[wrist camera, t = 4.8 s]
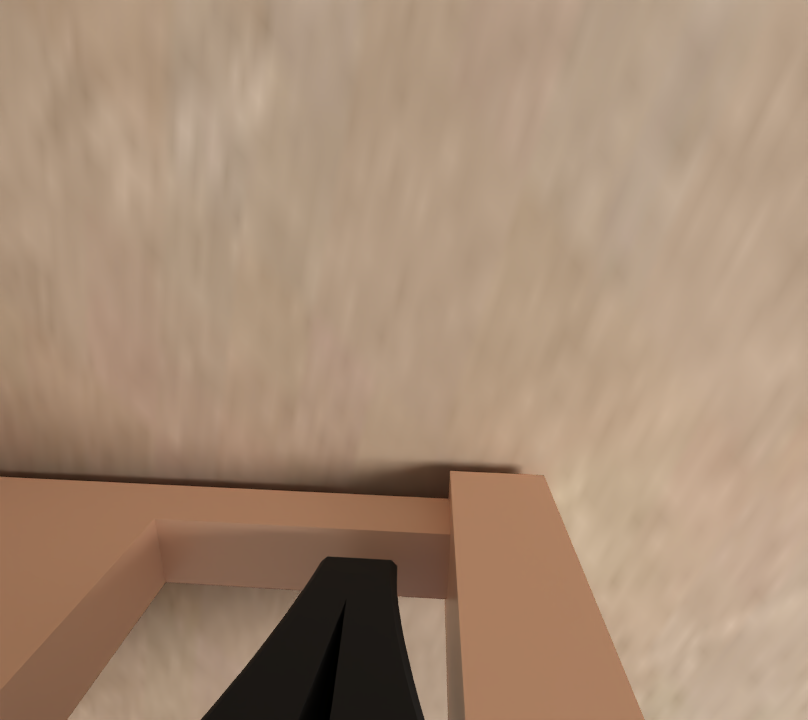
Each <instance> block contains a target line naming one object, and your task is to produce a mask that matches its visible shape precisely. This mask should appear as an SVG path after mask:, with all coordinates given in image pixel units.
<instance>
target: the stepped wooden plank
mask: <svg viewBox="0 0 808 720" xmlns="http://www.w3.org/2000/svg"><path fill="white" fill-rule="evenodd" d="M327 556H330V557H348V558H366V559H383V560H392V561H393V562H394V563H395V564H396V565H397V596H402V597H419V598H436V599H445V628H446V664H447V700H448V720H644V717H643V715H642V712H641V710H640V708H639V705H638V703H637V700H636V698H635V695H634V693H633V691H632V688H631V686H630V683H629V681H628V678H627V676H626V674H625V671H624V669H623V666H622V664H621V661H620V659H619V657H618V654H617V652H616V649H615V647H614V644H613V642H612V640H611V637H610V635H609V632H608V630H607V627H606V625H605V623H604V620H603V618H602V615H601V613H600V610H599V608H598V606H597V603H596V601H595V598H594V596H593V594H592V591H591V589H590V586H589V584H588V581H587V579H586V577H585V574H584V572H583V569H582V567H581V564H580V562H579V560H578V557H577V555H576V552H575V550H574V547H573V545H572V543H571V540H570V538H569V535H568V533H567V530H566V528H565V526H564V523H563V521H562V518H561V516H560V513H559V511H558V509H557V506H556V504H555V501H554V499H553V496H552V494H551V492H550V489H549V487H548V484H547V482H546V480H545V477H544V475H528V474H506V473H484V472H462V471H450V482H449V499H443V498H422V497H402V496H381V495H361V494H341V493H320V492H300V491H279V490H259V489H239V488H218V487H198V486H177V485H157V484H137V483H116V482H96V481H75V480H55V479H34V478H14V477H0V720H67V719H68V718H69V716H70V715H71V713H72V712H73V711H74V709H75V708H76V706H77V705H78V704H79V702H80V701H81V699H82V698H83V697H84V695H85V694H86V692H87V691H88V690H89V688H90V687H91V686H92V684H93V683H94V681H95V680H96V679H97V677H98V676H99V674H100V673H101V672H102V670H103V669H104V667H105V666H106V665H107V663H108V662H109V660H110V659H111V658H112V656H113V655H114V653H115V652H116V651H117V649H118V648H119V647H120V645H121V644H122V642H123V641H124V640H125V638H126V637H127V635H128V634H129V633H130V631H131V630H132V628H133V627H134V626H135V624H136V623H137V621H138V620H139V619H140V617H141V616H142V614H143V613H144V612H145V610H146V609H147V608H148V606H149V605H150V603H151V602H152V601H153V599H154V598H155V596H156V595H157V594H158V592H159V591H160V589H161V588H162V587H163V585H164V584H165V582H170V583H186V584H203V585H219V586H236V587H253V588H269V589H286V590H303V589H304V587H305V586H306V584H307V583H308V581H309V580H310V578H311V577H312V575H313V574H314V572H315V571H316V569H317V567H318V566H319V564H320V563H321V561H322V560H323V559H325V558H326V557H327Z"/></svg>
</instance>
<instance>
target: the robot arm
mask: <svg viewBox="0 0 808 720" xmlns="http://www.w3.org/2000/svg"><path fill="white" fill-rule="evenodd" d="M201 720H425V719H424V716H423V713H422V709H421V706H420V702H419V699H418V695H417V691H416V687H415V684H414V680H413V676H412V671H411V667H410V663H409V659H408V654H407V650H406V646H405V641H404V636H403V631H402V626H401V619H400V613H399V606H398V597H397V565H396V564H395V563H394V562H393V561H392V560H383V559H366V558H348V557H330V556H327V557H326V558H325V559H323V560H322V561H321V563H320V564H319V566H318V567H317V569H316V571H315V572H314V574H313V575H312V577H311V578H310V580H309V581H308V583H307V584H306V586H305V587H304V589H303V590H302V592H301V593H300V595H299V596H298V598H297V599H296V600H295V602H294V603H293V605H292V606H291V607H290V609H289V610H288V612H287V613H286V614H285V616H284V617H283V619H282V620H281V621H280V623H279V624H278V625H277V627H276V628H275V629H274V630H273V632H272V633H271V634H270V636H269V637H268V638H267V640H266V641H265V642H264V644H263V645H262V646H261V648H260V649H259V650H258V652H257V653H256V654H255V655H254V657H253V658H252V659H251V660H250V662H249V663H248V664H247V665H246V667H245V668H244V669H243V670H242V672H241V673H240V674H239V675H238V676H237V678H236V679H235V680H234V681H233V682H232V683H231V685H230V686H229V687H228V688H227V689H226V691H225V692H224V693H223V694H222V695H221V697H220V698H219V699H218V700H217V701H216V703H215V704H214V705H213V706H212V707H211V708H210V710H209V711H208V712H207V713H206V714H205V715H204V717H203V718H202V719H201Z"/></svg>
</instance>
